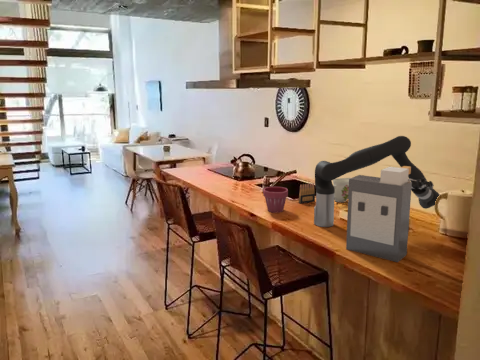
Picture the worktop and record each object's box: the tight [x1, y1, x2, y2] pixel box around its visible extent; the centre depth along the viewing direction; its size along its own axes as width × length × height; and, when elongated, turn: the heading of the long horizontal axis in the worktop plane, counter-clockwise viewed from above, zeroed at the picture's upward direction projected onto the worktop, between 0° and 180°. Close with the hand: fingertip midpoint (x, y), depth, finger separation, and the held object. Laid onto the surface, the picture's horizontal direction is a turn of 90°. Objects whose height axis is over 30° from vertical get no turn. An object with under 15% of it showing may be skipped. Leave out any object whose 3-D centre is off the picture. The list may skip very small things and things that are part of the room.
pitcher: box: [332, 177, 351, 203], centre depth 263 cm, size 11×18×14 cm, turn 122°
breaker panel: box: [345, 174, 412, 263], centre depth 181 cm, size 23×11×32 cm, turn 49°
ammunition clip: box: [298, 182, 316, 204], centre depth 263 cm, size 11×2×12 cm, turn 114°
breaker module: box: [379, 166, 411, 185], centre depth 177 cm, size 8×19×5 cm, turn 139°
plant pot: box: [263, 186, 289, 214], centre depth 246 cm, size 14×14×13 cm
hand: (412, 178), depth 192 cm, fingers open, 8 cm apart
